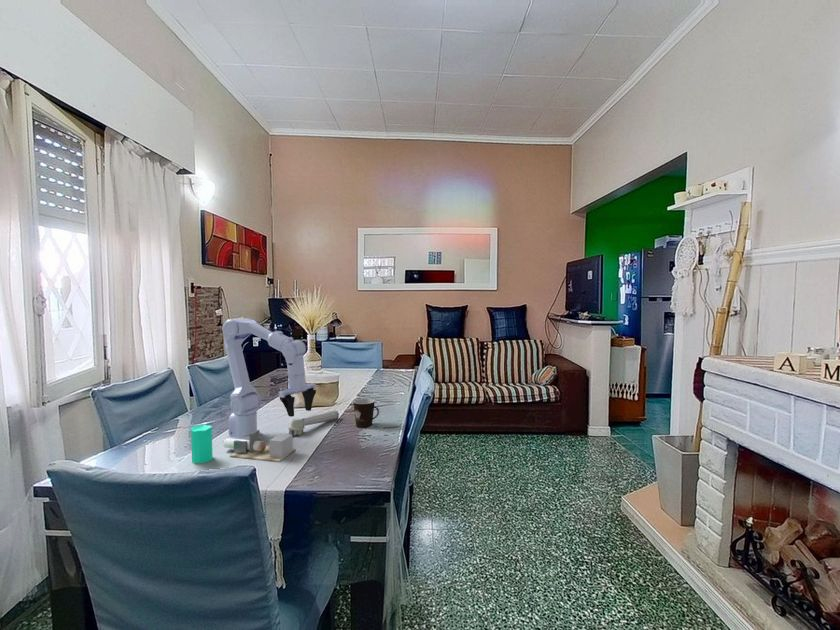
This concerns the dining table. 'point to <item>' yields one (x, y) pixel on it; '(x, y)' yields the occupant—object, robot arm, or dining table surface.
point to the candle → (201, 443)
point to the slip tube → (253, 442)
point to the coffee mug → (364, 412)
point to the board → (259, 455)
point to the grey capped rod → (311, 421)
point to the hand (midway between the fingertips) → (300, 413)
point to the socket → (281, 445)
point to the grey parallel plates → (241, 446)
